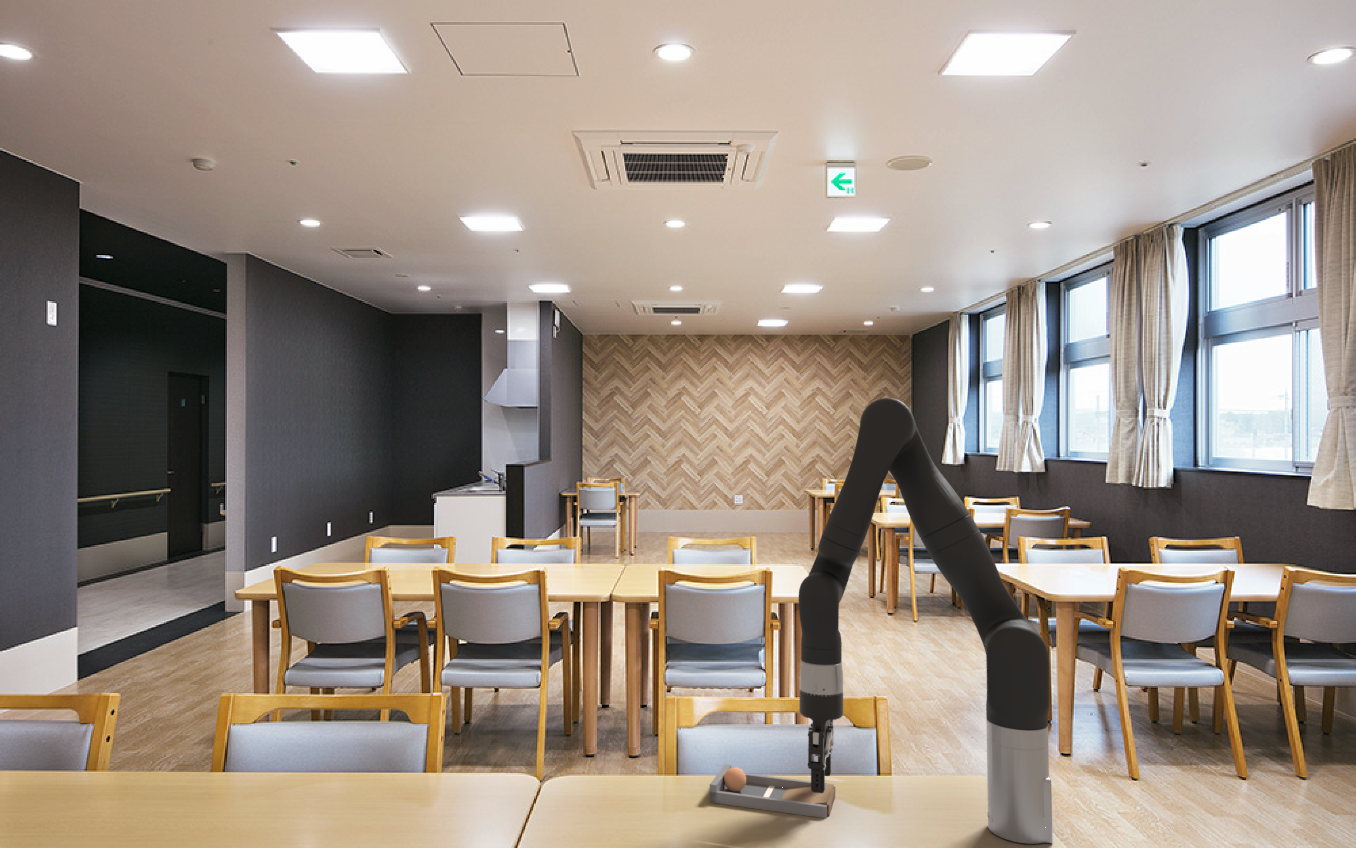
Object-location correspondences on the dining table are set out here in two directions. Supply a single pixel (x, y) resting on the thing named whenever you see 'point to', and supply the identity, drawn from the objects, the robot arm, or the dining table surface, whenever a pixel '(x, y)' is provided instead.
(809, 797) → the ramp
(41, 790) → the dining table surface
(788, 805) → the lane
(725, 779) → the ball
